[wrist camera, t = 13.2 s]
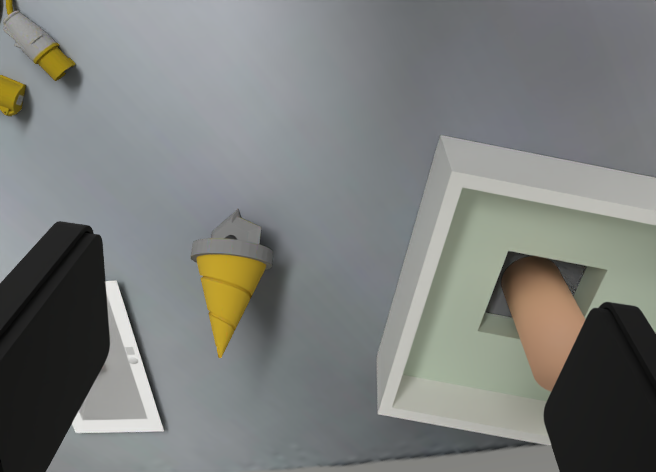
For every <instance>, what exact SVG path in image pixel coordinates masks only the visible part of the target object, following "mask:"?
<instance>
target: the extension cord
mask: <svg viewBox="0 0 656 472" xmlns="http://www.w3.org/2000/svg"><path fill="white" fill-rule="evenodd" d="M6 9H7V14H8V16H7V17H6V18H5V19H4V21H3V24H4V27H3V30H4V31H5V32H6V33H7V34H8V35H9V36H11V37H12V38H13V39H14V40H15V41H16V44H14V46H16V47H19V48H21V49H22V51H23V52H24V53H25V54H26V55H27V56H28V57H29V58H30V59H31V60H32V61H33V62H34V63H35V64H39V65H40V66H41V67H42V68H43V69H44V70H45V71H46V72H47V73H48V74H49V75H50V76H51V77H52V78H53V80H54V81H57V80H58V79H60V78H61V77H63V76H64V75H65V74H66V73H65V72H64V71H65V70H66V69H69V68H70V67H73V66H74V65H75V63H74V62H73V61H72V59H71V58H67V57H66V56H65V55H64V54H63V53H62V52H61V50H60V49H59V48H58V46H59V44H58V43H56V42H55V41H54V40H53V39H52V38H51V37H50V36H49V35H48V33H46V32H45V31H44V30H42V29H41V28H40V27H39V26H37V25H36V24H35V23H34V22H32V21H31V20H29V19H28V18H27V17H25V16H24V15H23V14H21V13H20V11H14V12H13V6H12V0H6ZM4 28H7V30H5V29H4ZM25 88H26V85H24V84H22V83H20V82H17V81H15V80H12V79H10V78H8V77H5V76H3V75H0V110H1V111H2V112H3V113H4V115H7V116H12V115H15V114H17V113H18V112H19V111H20V110H21V109H22V104H23V96H24V93H25Z"/></svg>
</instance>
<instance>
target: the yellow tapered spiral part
mask: <svg viewBox="0 0 656 472" xmlns="http://www.w3.org/2000/svg"><path fill="white" fill-rule="evenodd" d="M260 235H261V227H259V226H257V225H255V224H253V223H251V222H249V221H246V220H244V219H242V218H240V214H239V209H237V210H236V211H235V212H234V213H233V214H231V215H230V216H229V217H228V218H227V219H226V220H225V221H224V222H222V223H221V224H220V225H219V226H218V227H217V228H216V229H214V230H213V231H212V234H211V238H208V239H200V240H196V241H194V242H193V245H192V252H191V259H192V260H193V261H194V262H197V264H198V268H199V273H200V275H202V276H203V277H202V278H201V282H202V286H203V291H204V295H205V300H206V304H207V308H208V310H209V311H210V312H209V317H210V322H211V326H212V331H213V335H214V339H215V344H216V346H217V353H218V357H219V358H221V357H222V355H223V353H224V351H225V349H226V347H227V345H228V343H229V341H230V339H231V337H232V335H233V333H234V331H235V329H236V327H237V325H238V323H239V321H240V319H241V317H242V315H243V313H244V311H245V309H246V307H247V305H248V303H249V301H250V298H251V297H252V295H253V293H254V291H255V289H256V287H257V285H258V283H259V281H260V279H261V277H262V275H263V272H264V270H268V269H271V268H272V262H273V251H272V250H271V249H269V248H268V247H265V246H263V245H260ZM236 239H237V240H236Z"/></svg>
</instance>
